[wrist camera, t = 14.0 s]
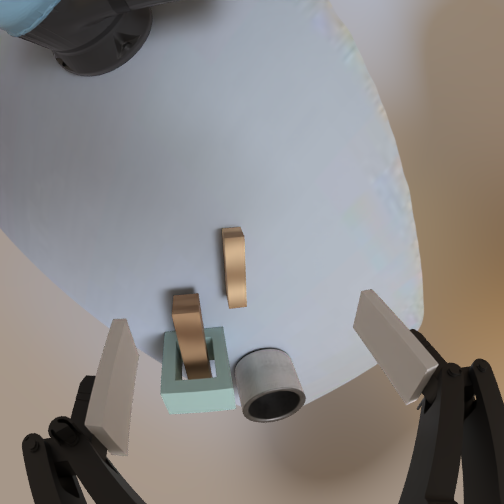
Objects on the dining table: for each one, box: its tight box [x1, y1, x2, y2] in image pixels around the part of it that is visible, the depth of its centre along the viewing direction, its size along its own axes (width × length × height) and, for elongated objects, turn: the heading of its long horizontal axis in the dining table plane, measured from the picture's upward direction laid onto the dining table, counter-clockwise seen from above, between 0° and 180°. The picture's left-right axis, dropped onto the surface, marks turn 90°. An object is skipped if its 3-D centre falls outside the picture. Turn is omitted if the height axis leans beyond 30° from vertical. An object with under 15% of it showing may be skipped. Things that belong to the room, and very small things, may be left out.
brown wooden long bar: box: [172, 293, 213, 380], centre depth 46 cm, size 22×4×5 cm, turn 1°
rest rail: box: [222, 227, 247, 309], centre depth 43 cm, size 12×3×4 cm, turn 1°
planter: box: [235, 349, 306, 423], centre depth 52 cm, size 13×13×11 cm
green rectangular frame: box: [161, 327, 236, 414], centre depth 44 cm, size 6×11×14 cm, turn 91°
